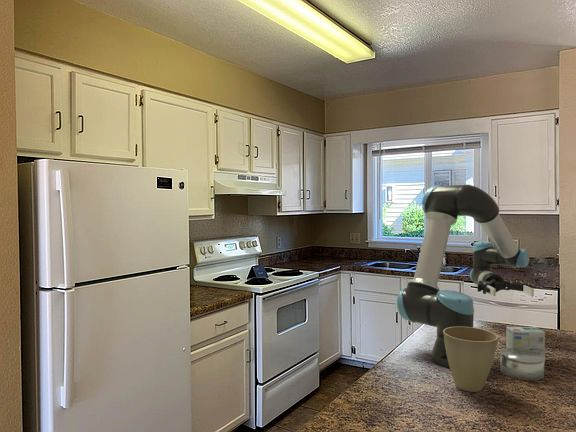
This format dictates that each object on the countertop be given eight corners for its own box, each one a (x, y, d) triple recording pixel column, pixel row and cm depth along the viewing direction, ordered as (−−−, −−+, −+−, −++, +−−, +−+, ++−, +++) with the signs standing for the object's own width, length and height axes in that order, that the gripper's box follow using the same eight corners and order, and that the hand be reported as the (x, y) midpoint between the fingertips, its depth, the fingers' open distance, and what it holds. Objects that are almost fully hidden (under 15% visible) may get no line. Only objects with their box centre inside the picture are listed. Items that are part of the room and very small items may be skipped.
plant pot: (464, 400, 123) (464, 343, 122) (432, 379, 137) (433, 328, 136) (509, 394, 126) (510, 338, 126) (474, 374, 141) (474, 324, 140)
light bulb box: (536, 356, 157) (537, 326, 157) (545, 363, 151) (546, 331, 150) (504, 355, 158) (505, 325, 158) (512, 362, 152) (513, 331, 151)
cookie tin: (512, 381, 136) (512, 361, 136) (491, 365, 149) (492, 347, 149) (554, 380, 136) (554, 361, 136) (530, 365, 149) (530, 347, 149)
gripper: (521, 290, 184) (548, 302, 163) (460, 290, 186) (478, 302, 165) (521, 272, 184) (548, 282, 163) (460, 272, 186) (478, 282, 164)
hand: (513, 292), depth 164 cm, fingers open, 13 cm apart
